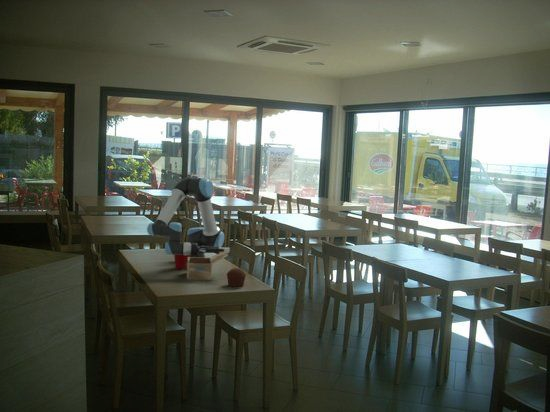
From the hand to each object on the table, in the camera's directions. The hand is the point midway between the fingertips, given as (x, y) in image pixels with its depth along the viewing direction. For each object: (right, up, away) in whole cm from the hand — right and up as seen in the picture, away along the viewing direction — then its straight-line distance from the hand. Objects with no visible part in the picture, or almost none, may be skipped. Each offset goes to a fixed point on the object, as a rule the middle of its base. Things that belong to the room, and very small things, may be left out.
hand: (229, 250), depth 354 cm
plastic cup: (-33, -14, +19) cm, 41 cm away
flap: (-11, -6, -1) cm, 13 cm away
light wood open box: (-18, -16, -1) cm, 24 cm away
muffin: (+5, -19, -19) cm, 28 cm away
